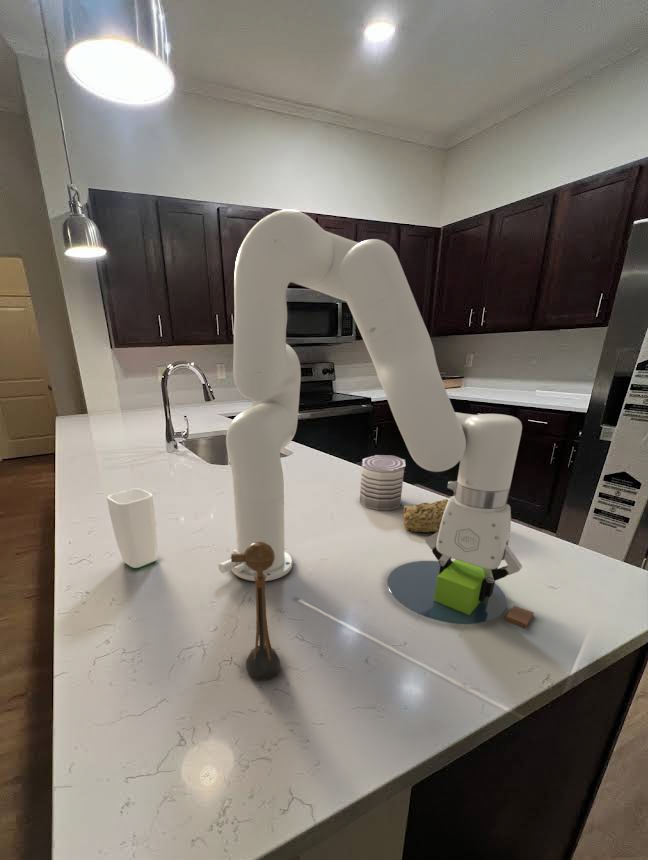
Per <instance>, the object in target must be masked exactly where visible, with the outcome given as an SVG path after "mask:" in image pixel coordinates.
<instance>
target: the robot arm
mask: <svg viewBox="0 0 648 860" xmlns="http://www.w3.org/2000/svg"><path fill="white" fill-rule="evenodd" d="M290 283H293V284H295V285H298V286H301V287H304V288H308V289H310V290H313V291H315V292H319V293H322V294H325V295H327V296H330V297H332V298H334V299H338V300H341V301H343V302H346V304H347V306H348V308H349V311H350V313H351V315H352V318H353V320H354V322H355V324H356V326H357V328H358V331H359V333H360V335H361V338H362V340H363V343H364V345H365V347H366V350H367V352H368V354H369V357H370V359H371V361H372V364H373V366H374V369H375V372H376V376H377V379H378V381H379V383H380V385H381V387H382V390H383V392H384V394H385V397H386V400H387V402H388V405H389V408H390V411H391V413H392V416H393V419H394V420H395V423H396V425H397V427H398V430H399V432H400V435H401V437H402V439H403V441H404V443H405V446H406V448H407V451H408V453H409V455H410V456H411V458H412V460H413V461H414V462H415V464H416V465H417V466H419V467H420V468H422V469H424V470H426V471H429V472H433V473H439V472H440V473H441V472H446V471H448V470H450V469H452V468H454V467H456V465H458V463H459V466H458V473H457V480H454V481H453V480H449V481H448V482H447V487H446V488H447V489H448V490H451V491H453V495H452V496H450V497H449V498H448V499H447V500H448V502H447V505H446V508H445V511H444V514H443V517H442V521H441V524H440V528H439V531H438V532H434V533H433V534H431V535H429V536H428V537H427V538H425V543H426V544H427V546H428V547H429V549H430V550H431V552H432V554H433V555H434V557H435V559H436V561H438V564H439V565H440V571H439V574H440V573H442V572H443V571H444V570H445V569H446V568H447V567H448V566H449V565H450V564H451V563H452V562H453V561H454V560H459V561H462V562H465V563H468V564H472V565H475V566H478V567H481V568H483V570H484V574H485V579H484V580H483V582H482V585H481V590H480V595H479V601H480V602H483V601H484V600H485V599H486V597H491V595H492V593H493V588H494V584H496V581H498V580H501V579H503V578H505V577H507V576H511V575H513V574H516V573H518V572H520V570H522V568H523V565H522V563H521V561H520V560H519V559H518V558H517V556H516V554H514V552H513V551H512V549H511V548H510V547H509V545H510V537H511V525H512V522H511V521H512V513H511V511H512V510H511V509H512V508H511V506H510V504H508V500H509V495H510V489H511V484H512V480H513V474H514V470H515V466H516V462H517V461H516V460H517V456H518V451H519V446H520V442H521V437H522V431H523V424H522V421H521V420H520V419H519V418H518V417H515V416H513V415H508V414H502V413H480V414H479V413H478V414H471V413H463V412H457V411H455V409H454V407H453V405H452V402H451V400H450V397H449V395H448V392H447V389H446V388H445V384H444V381H443V379H442V376H441V373H440V370H439V366H438V364H437V359H436V354H435V349H434V344H433V343H432V340H431V337H430V334H429V332H428V329H427V327H426V324H425V322H424V319H423V317H422V315H421V312H420V310H419V307H418V304H417V301H416V299H415V297H414V294H413V292H412V290H411V287H410V285H409V282H408V279H407V276H406V275H405V272H404V269H403V266H402V264H401V262H400V259H399V257H398V254H397V252H396V251H395V250H394V248H393V247H392V245H390V244H389V243H387V242H386V241H384V240H381V239H379V238H371V239H366V240H363V241H360V242H359V241H354V240H352V239H349V238H346V237H343V236H341V235H338V234H335V233H333V232H330V231H326V230H325V229H323V228H322V227H321V226H320V225H319V224H318V223H317V222H316V221H315V220H314V219H313V218H311V217H310V216H309V215H308V214H306V213H304V212H302V211H299V210H296V209H286V208H285V209H282V210H281V209H280V210H276V211H274V212H272V213H270V214H268V215H265V216H264V217H263V218H261V219H260V220H259V221H258V222H257V223H256V224H255V225H253V226H252V228H250V230H249V231H248V233H247V234H246V236H245V237H244V238H243V241H242V243H241V245H240V246H239V249H238V253H237V255H236V260H235V266H234V278H233V288H234V289H233V296H234V297H233V298H234V299H233V301H234V311H233V312H234V314H233V315H234V317H233V358H232V359H233V360H232V361H233V362H232V363H233V364H232V367H233V368H232V375H233V376H232V377H233V383H234V385H235V388H236V390H237V392H238V393H239V394H240V395H241V396H242V397H243V398H245V399H247V400H249V401H251V402H252V403H251V407H250V408H248V409H245V410H243V411H242V412H240V413H239V414H237V415H236V416H235V417H234V418H233V419H232V421H231V422H230V424H229V425H228V428H227V431H226V432H227V433H226V436H225V444H226V450H227V451H226V452H227V455H228V460H229V464H230V469H231V476H232V477H231V478H232V488H233V501H234V502H233V503H234V515H235V516H234V517H235V518H234V519H235V520H234V521H235V536H236V548H235V549H233V550H232V554H244V552H245V550H246V549H247V547H248V546H249V545H251V544H252V543H254V542H264V543H266V544H268V545H270V546H271V548H272V549H273V550H274V554H275V560H274V563H273V565H272V566H271V567H270V568H269V569H267V570H265V571H263V574H265V575H266V579H265V582H269V581H270V582H271V581H274V580H278V579H280V578H283V577H284V576H286V575H287V574H288V573H290V571H291V570H292V568H293V558H292V556H291V555H290V553H288V552H287V551H286V550H285V478H284V471H283V465H282V459H281V451H282V450H283V449H284V448H286V447H287V446H288V445H289V444H290V443H291V442H292V440H293V439H294V437H295V435H296V433H297V429H298V421H299V407H300V394H301V393H300V392H301V381H302V380H301V378H302V371H301V370H302V369H301V363H300V359H299V357H298V355H297V352H296V351H295V350H294V348H293V347H291V345H289V344H288V343H287V325H288V305H287V304H288V303H287V291H288V286H289V285H290ZM453 559H454V560H453ZM502 561H505V563H506V564H507V565H506V566H501V567H499V566H500V565H501V563H502ZM218 570H219V572H220V573H221V574H226V573H227V572H229V571H231V572H232V573H233V574H234V575H235V576H236V577H238V578H241V579H242V580H245V581H250V582H255V579H254V575H256V574H257V571H254V570H251V569H250V568H249V567H248V566H247V565H246V563H245V562H231V557H230V558H229V559H227V560H225V561H223V562H221V563H219V564H218Z"/></svg>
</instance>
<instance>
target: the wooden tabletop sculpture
mask: <svg viewBox="0 0 648 860" xmlns="http://www.w3.org/2000/svg"><path fill="white" fill-rule="evenodd" d="M230 558H231V562H245V563H246V565H247V566H248V567H249V568H250V569H251V570H254V571H257V574H256V575H254V579H255V581H254V585H255V586H254V588H255V606H256V607H255V611H256V612H255V613H256V614H255V615H256V621H255V623H256V627H255V629H256V632H255V645H254V648H252V649H251V650H250V652H249V655H248V657H247V658H246V661H245V669H246V671H247V674H248V676H249V677H251V678H253V679H255V680H256V681H269V680H270V679H273V678H274V677H276V676H278V674H279V672H280V669H281V661H280V657H279V655H278V653H277V652H276V650H275V649H274V648H273V647H272V645H271V644H272V643H271V640H270V634H269V627H268V619H267V601H266V600H267V599H266V598H267V597H266V581H265V579H266V575H265V574H263V571H265V570H267V569H269V568H270V567H271V566H272V565H273V563H274V560H275V554H274V550H273V549H272V548H271V546H270V545H268V544H266V543H264V542H254V543H252V544H251V545H249V546H248V547H247V549H246V550H245V552H244V554H233V553H231V555H230Z"/></svg>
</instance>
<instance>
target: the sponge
mask: <svg viewBox="0 0 648 860" xmlns="http://www.w3.org/2000/svg"><path fill="white" fill-rule="evenodd" d="M448 500H449V499H442V500H438V501H437V500H436V501H435V502H432V503H429V502H422V503H418V504H412V505H403V510H402V517H403V523H404V525H403V526H404V529H405V530H406V531H408V532H409V531H410V532H413V533H433V532H434V533H436V532H438V531H439V528H440V524H441V521H442V517H443V514H444V511H445V508H446V505H447V502H448Z"/></svg>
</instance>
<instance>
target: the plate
mask: <svg viewBox="0 0 648 860" xmlns="http://www.w3.org/2000/svg"><path fill="white" fill-rule="evenodd" d="M439 571H440V565H439V564H438V560H418V561H412V562H407V563H404V564H401V565H399V566H397V567H396V568H394V569H393V570H392V571H391V572H390V573H389V574H388V576H387V580H386V583H387V588H388V590H389V592H390V594H391V595H392V596H393V598H394V599H395V600H396V601H397V602H398V603H400V605H402V606H404V607H405V608H406V609H408V610H410V611H412V612H414V613H416V614H418V615H420V616H423V617H425V618H428V619H431V620H435V621H439V622H443V623H449V624H457V625H474V624H475V625H477V624H483V623H486V622H490V621H492V620H495V619H497V618H498V617H500V616H501V615H502V614H503V613H504V612H505V610H506V607H507V598H506V595H505V594H504V592H503V590H502V588H500V586H498V585H497V583H495V584H494V588H493V593H492V595H491V597H486V599H485V600H484V601H483V602H480V603H479V604H478V605H477V606H476V608H475V609H474V610H473V611H472V612H471V614H470V615H468V614H465V613H463V612H460V611H458V610H456V609H453V608H451V607H448V606H446V605H443V604H441V603H438V602H436V601H434V597H435V590H436V584H437V577H438V575H439Z"/></svg>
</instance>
